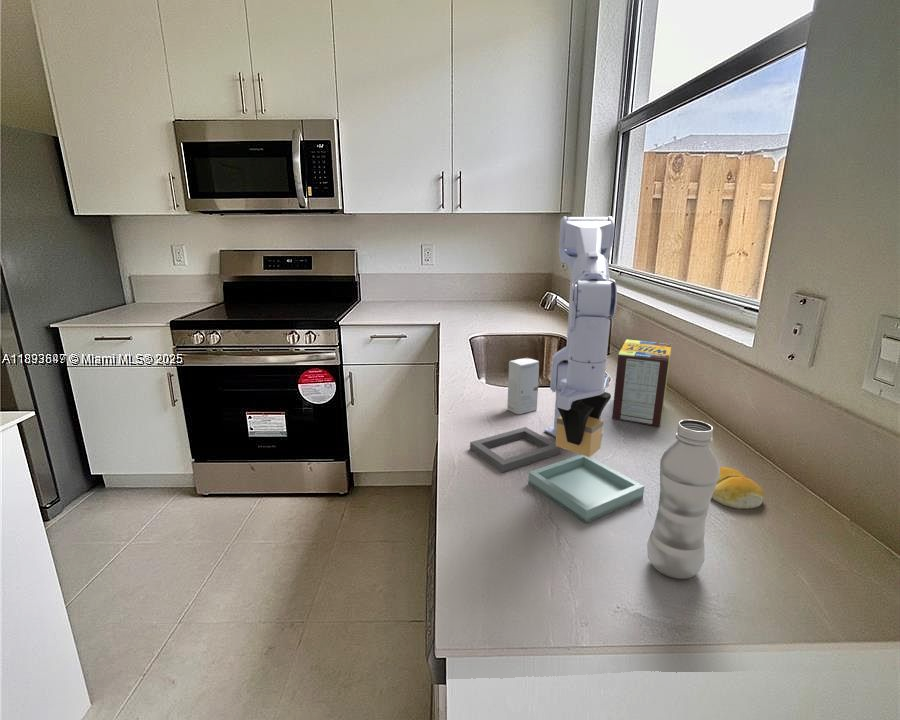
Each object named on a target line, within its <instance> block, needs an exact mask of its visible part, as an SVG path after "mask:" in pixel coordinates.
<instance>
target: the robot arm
mask: <svg viewBox="0 0 900 720" xmlns="http://www.w3.org/2000/svg"><path fill="white" fill-rule="evenodd" d="M615 225H616V224H615V219H614V218H613V216H610V215H608V216H568V217H567V216H566V215H564V216H563V217H562V218H560V226H559V238H558V247H559V250H558V251H559V252H558V256H559V257H560V258H559V261H560V262H561V263H564V264H566V266H568V270H569V276H570V283H569V298H568V299H569V300H568V301H569V302H568V317H567V332H566V333H567V334H566V346H564V347H562V348H561V349H560V350H557V352H555V353H554V354H553V356H552V359H551V360H552V362H551V367H550V385H549V389H550V391H551V392H552V393H555V403H554V420H553V426H550V427H546V428H544V432H545V433H548V434H550V435H552V436H554V437H555V438H556V432H557V418H558V417H560V416H561V417H562V420H563V423H564V428H565V433H566V438H567V442H570V443H573V444H576V445H580V444H581V441H582V439H583V435H584V430H585V425H586V422H587V420H588V417H593V418H596V419H600V420H602V413H603V410H604V409H605V407H606V406H607V404H608V402H609V401H610V399H611V397H612V396H611V395H612V394H611V393H609V392H606V388H608V387H610V381H611V380H610V379H611V376H610V375H608V374H606V369H607V368H606V367H607V358H608V357H607V356H608V347H609V340H610V339H609V338H610V337H609V336H610V329H611V320H613V319H614V317H615V314H616V309H617V301H618V290H617V282H616V280H615V279H613V278H610V277H611V275H610V266H609V262H608V258H609V257H610V256H609V255H610V252H611V249H612V247H613V244H614V237H615ZM609 318H610V319H611V320H610V319H609ZM562 361H567V362H562ZM603 435H604V433H603V431H602V436H603Z"/></svg>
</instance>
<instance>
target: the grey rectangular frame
mask: <svg viewBox="0 0 900 720" xmlns="http://www.w3.org/2000/svg"><path fill="white" fill-rule="evenodd" d="M521 439H526V440H528V441H529V442H531V443H533V444H535V445H536V446H538V447H539V448H536V449H533V450H530V451H527V452H522V453H520V454H517V455H514V456H511V457H507V458H504V457H502V456H500V455H499V454H497V453H496V452H495V451H493V450H492V449H490V448H494V447H498V446H501V445H504V444H506V443H510V442H514V441H517V440H521ZM469 449H470V450H471V451H472V452H473V453H474V454H476V455H477V456H479V457H480V458H481V459H483V460H484V461H486V462H487V463H489V464H490V465H491V466H493V467H494V468H496V469H497V470H499V471H500V472H501V473H506V472H509V471H511V470H514V469H517V468H520V467H523V466H526V465H530V464H532V463H536V462H539V461H542V460H545V459H548V458H551V457H555V456H557V455H560V454H561V453H562V448H561V447H558V446H556V442H554V441H552V440H550V439H549V438H547V437H544V436H543V435H541V434H540V433H537V431H534V430H532V429H530V428H529V427H527V426H525V427H521V428H516V429H512V430H510V431H506V432H503V433H499V434H495V435H492V436H488V437H484V438H481V439H477V440H473V441H470V443H469Z"/></svg>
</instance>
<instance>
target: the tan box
mask: <svg viewBox="0 0 900 720" xmlns="http://www.w3.org/2000/svg"><path fill="white" fill-rule="evenodd" d="M603 426H604V420H603V419H601V420H600V419H596V418H593V417H588V420H587V422H586V425H585V430H584V435H583V439H582V441H581V444H580V445H576V444H573V443H570V442H567V438H566V433H565V428H564V423H563V420H562V417H561V416H560V417H558V418H557V432H556V437H555V443H556V446H558V447H561V449H565V450H567V451H569V452H572V453H575V454H578V455H584V456H587V457H592V456H593V455H594V454H596V453H597V452H598V451H600V450H601V445H602V436H603V435H602V432H603Z"/></svg>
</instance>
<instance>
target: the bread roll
mask: <svg viewBox="0 0 900 720" xmlns="http://www.w3.org/2000/svg"><path fill="white" fill-rule="evenodd" d="M711 499H713V501H715V502H717V503H718V504H721V505H723V506H727V507H730V508H733V509H739V510H740V509H742V510H743V509H746V510H747V509H748V510H749V508H750V509H755V508H758V507H760V506H761V505H762V504H763V500H764V499H765V494H764V490H763V488H761V486H760V485H759V484H758V483H756V482H755V480H753V479H751V478H748V477H746V476H745V474H743V473H742V472H741V471H739V470H737V469H735V468H730V467H727V466H725V467H723V466H720V476H719V479H718V482H717V485H716V487H715V490H714V492H713V495H712V498H711Z"/></svg>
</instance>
